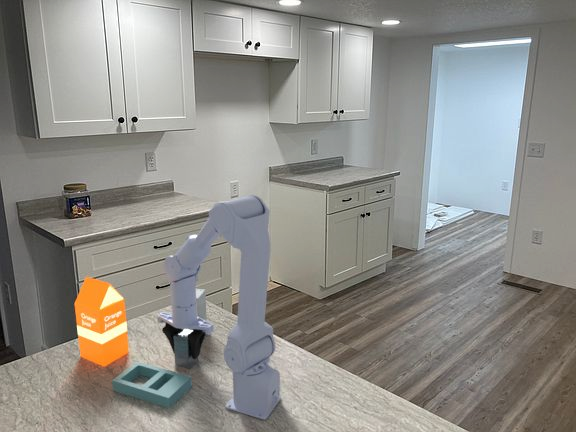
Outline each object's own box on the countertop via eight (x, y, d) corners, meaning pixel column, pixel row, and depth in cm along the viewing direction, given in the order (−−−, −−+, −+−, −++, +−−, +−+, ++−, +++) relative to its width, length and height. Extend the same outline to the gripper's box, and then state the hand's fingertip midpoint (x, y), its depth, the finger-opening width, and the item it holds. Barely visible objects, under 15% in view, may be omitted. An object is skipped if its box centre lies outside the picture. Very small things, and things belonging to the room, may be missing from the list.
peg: (198, 360, 115) (197, 331, 113) (189, 369, 111) (187, 339, 109) (184, 357, 117) (183, 328, 114) (175, 365, 113) (173, 335, 111)
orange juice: (104, 367, 112) (96, 289, 107) (79, 356, 116) (71, 281, 111) (129, 351, 119) (123, 278, 114) (105, 342, 123) (98, 271, 118)
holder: (191, 386, 105) (191, 376, 104) (169, 408, 98) (168, 398, 97) (138, 370, 111) (137, 361, 110) (113, 390, 103) (112, 380, 103)
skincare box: (192, 327, 131) (190, 288, 128) (207, 329, 130) (205, 289, 127) (185, 338, 125) (182, 297, 122) (200, 340, 125) (198, 298, 122)
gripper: (219, 301, 111) (221, 352, 114) (169, 290, 116) (171, 340, 120) (203, 313, 104) (205, 367, 108) (150, 302, 110) (154, 353, 113)
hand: (186, 354), depth 113 cm, fingers open, 5 cm apart
